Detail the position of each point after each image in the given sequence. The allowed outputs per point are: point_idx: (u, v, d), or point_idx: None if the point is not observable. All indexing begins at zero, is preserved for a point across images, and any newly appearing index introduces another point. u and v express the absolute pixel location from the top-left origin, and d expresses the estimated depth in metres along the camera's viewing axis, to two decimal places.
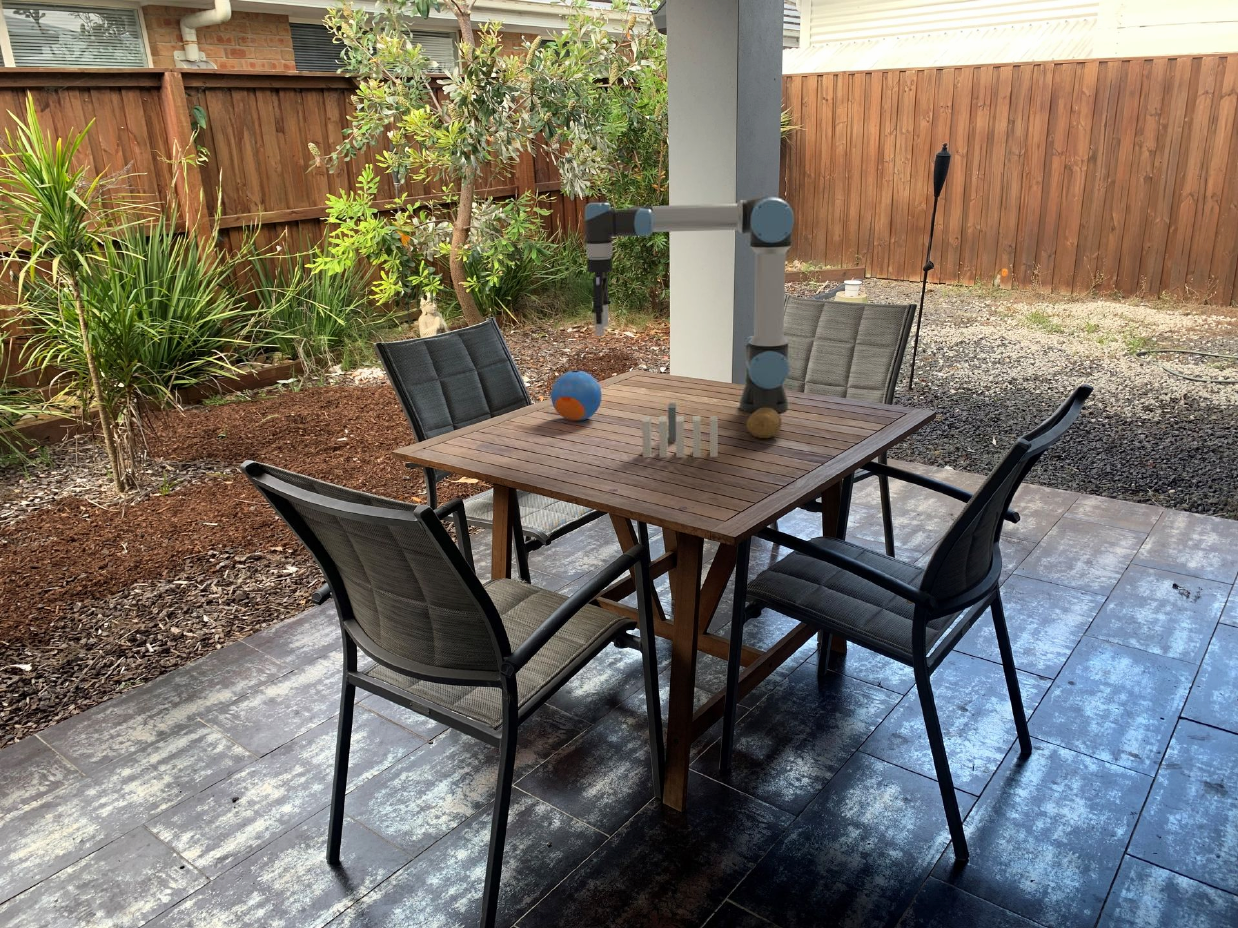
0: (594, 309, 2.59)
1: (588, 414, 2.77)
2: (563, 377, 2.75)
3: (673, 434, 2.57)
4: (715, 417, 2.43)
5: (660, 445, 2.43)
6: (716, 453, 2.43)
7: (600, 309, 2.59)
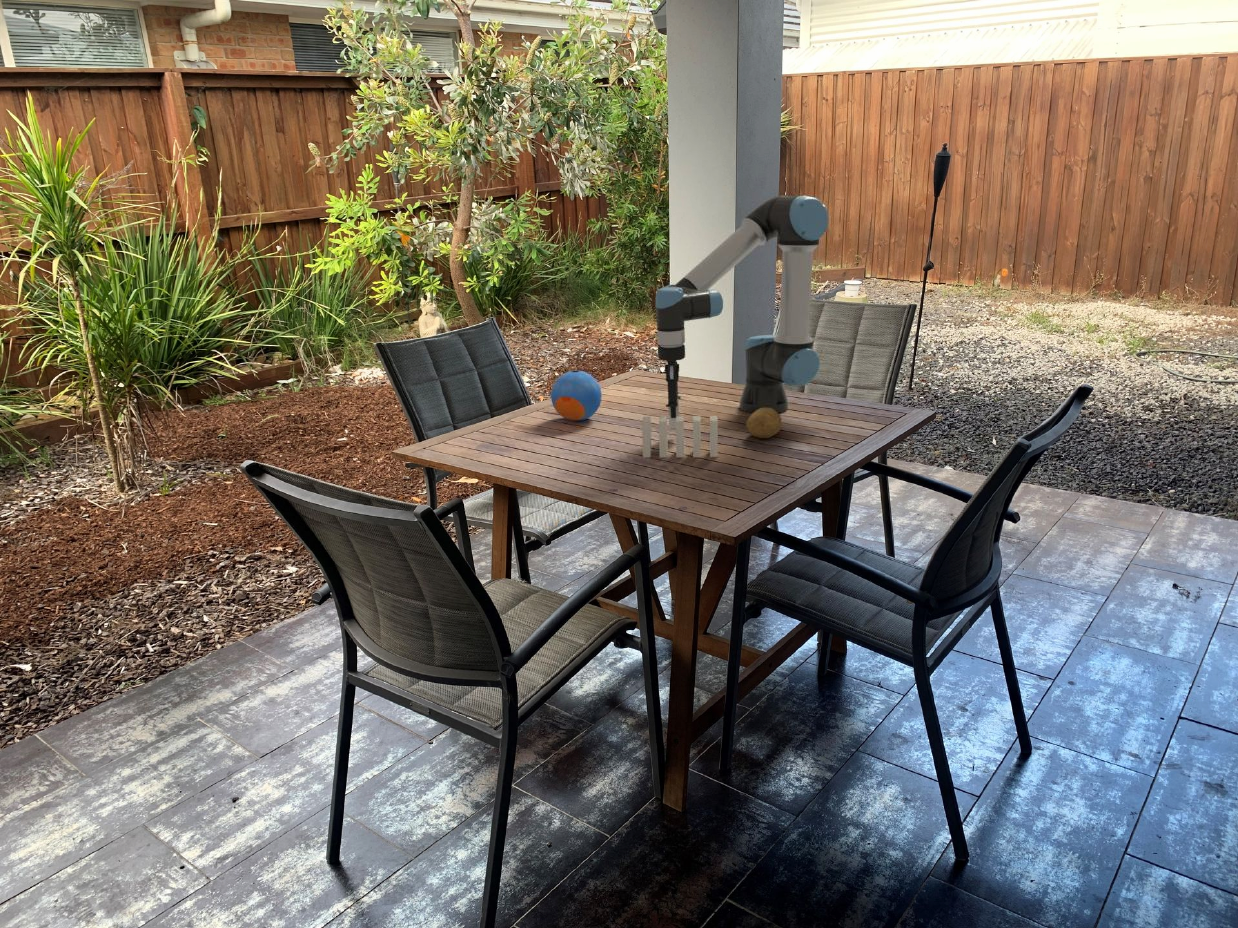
0: (669, 405, 2.51)
1: (588, 414, 2.77)
2: (563, 377, 2.75)
3: None
4: (715, 417, 2.43)
5: (660, 445, 2.43)
6: (716, 453, 2.43)
7: (675, 405, 2.50)
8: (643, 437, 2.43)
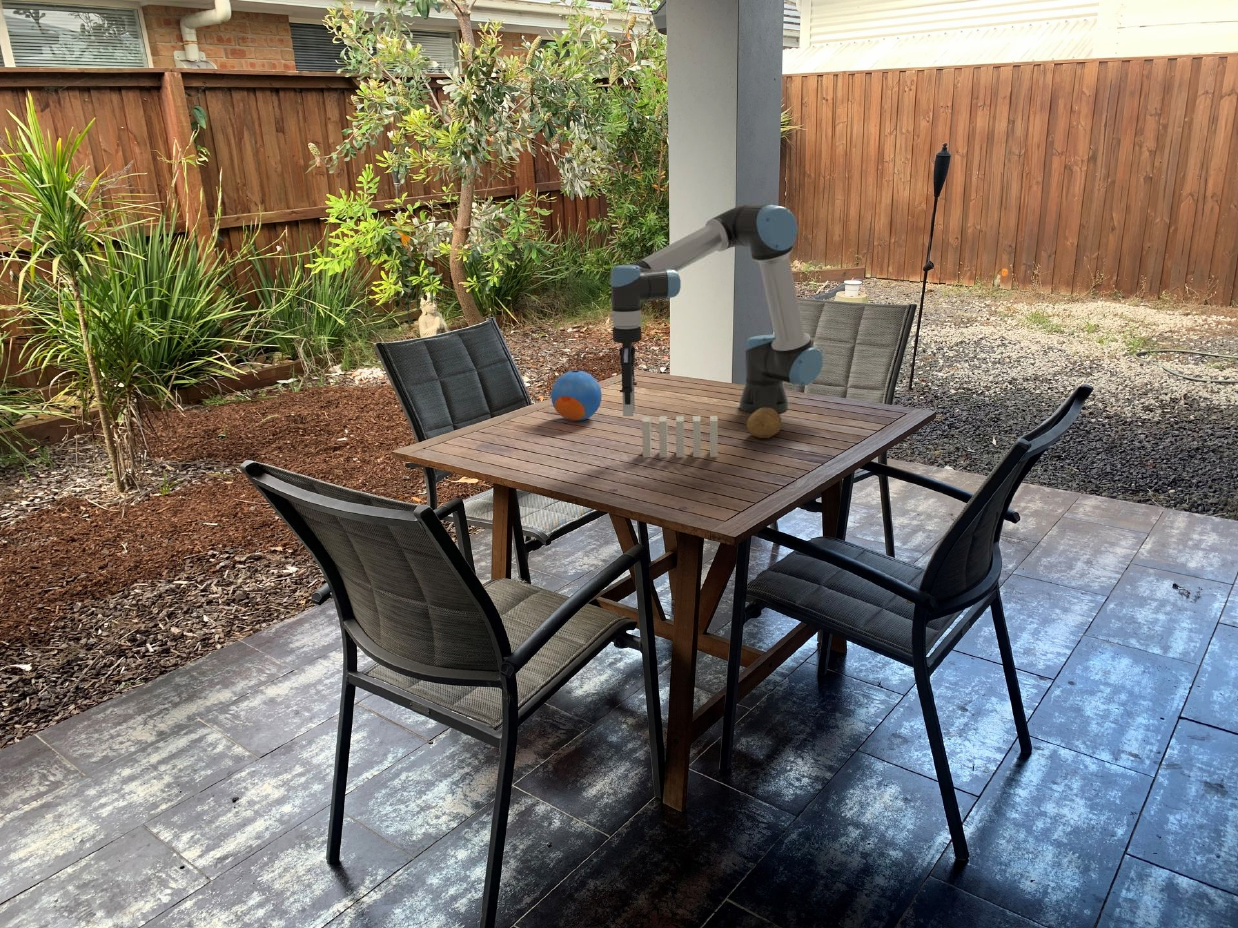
0: (623, 390, 2.36)
1: (588, 414, 2.77)
2: (563, 377, 2.75)
3: None
4: (715, 417, 2.43)
5: (660, 445, 2.43)
6: (716, 453, 2.43)
7: (629, 390, 2.36)
8: (643, 437, 2.43)
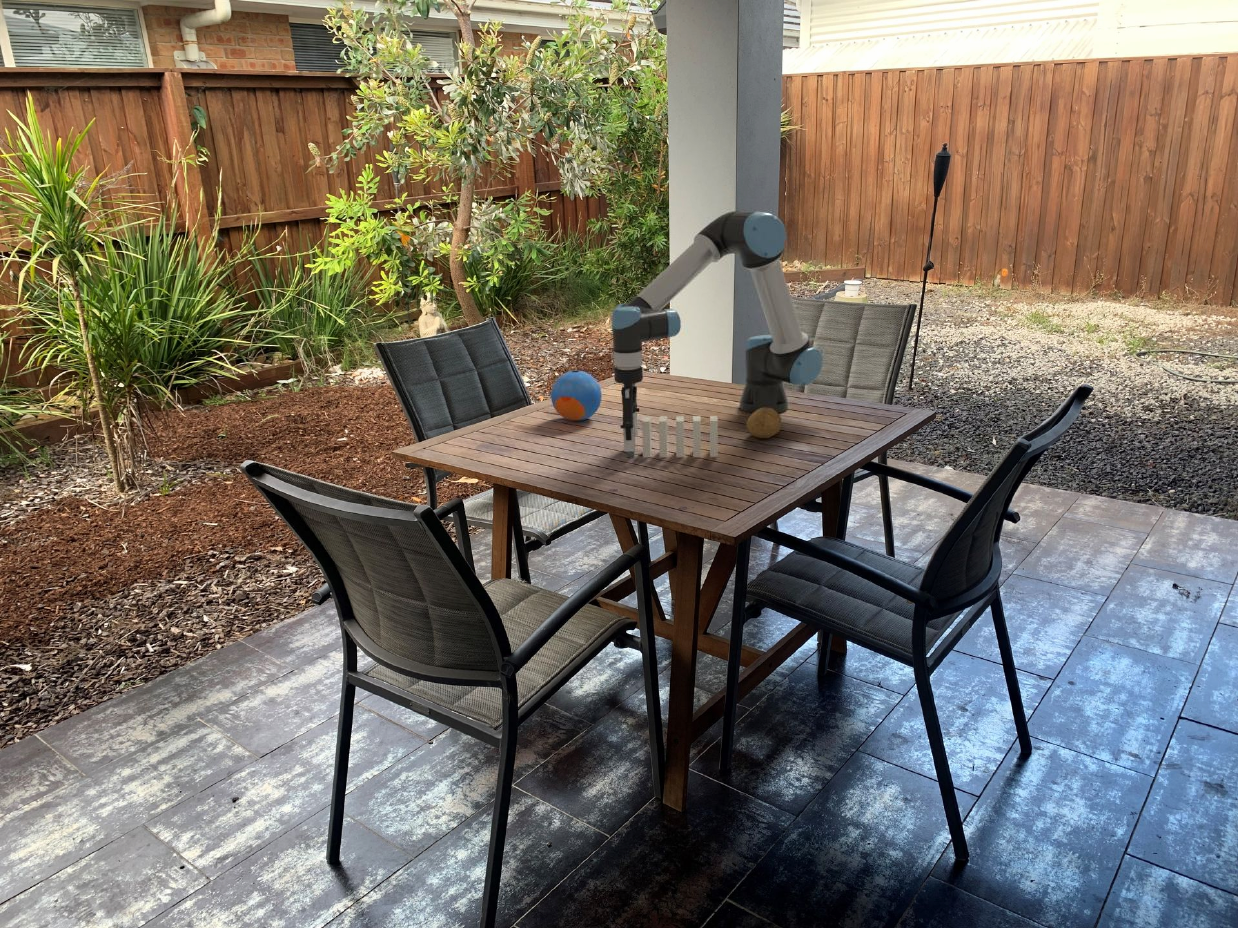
0: (623, 425, 2.35)
1: (588, 414, 2.77)
2: (563, 377, 2.75)
3: None
4: (715, 417, 2.43)
5: (660, 445, 2.43)
6: (716, 453, 2.43)
7: (630, 426, 2.35)
8: (643, 437, 2.43)
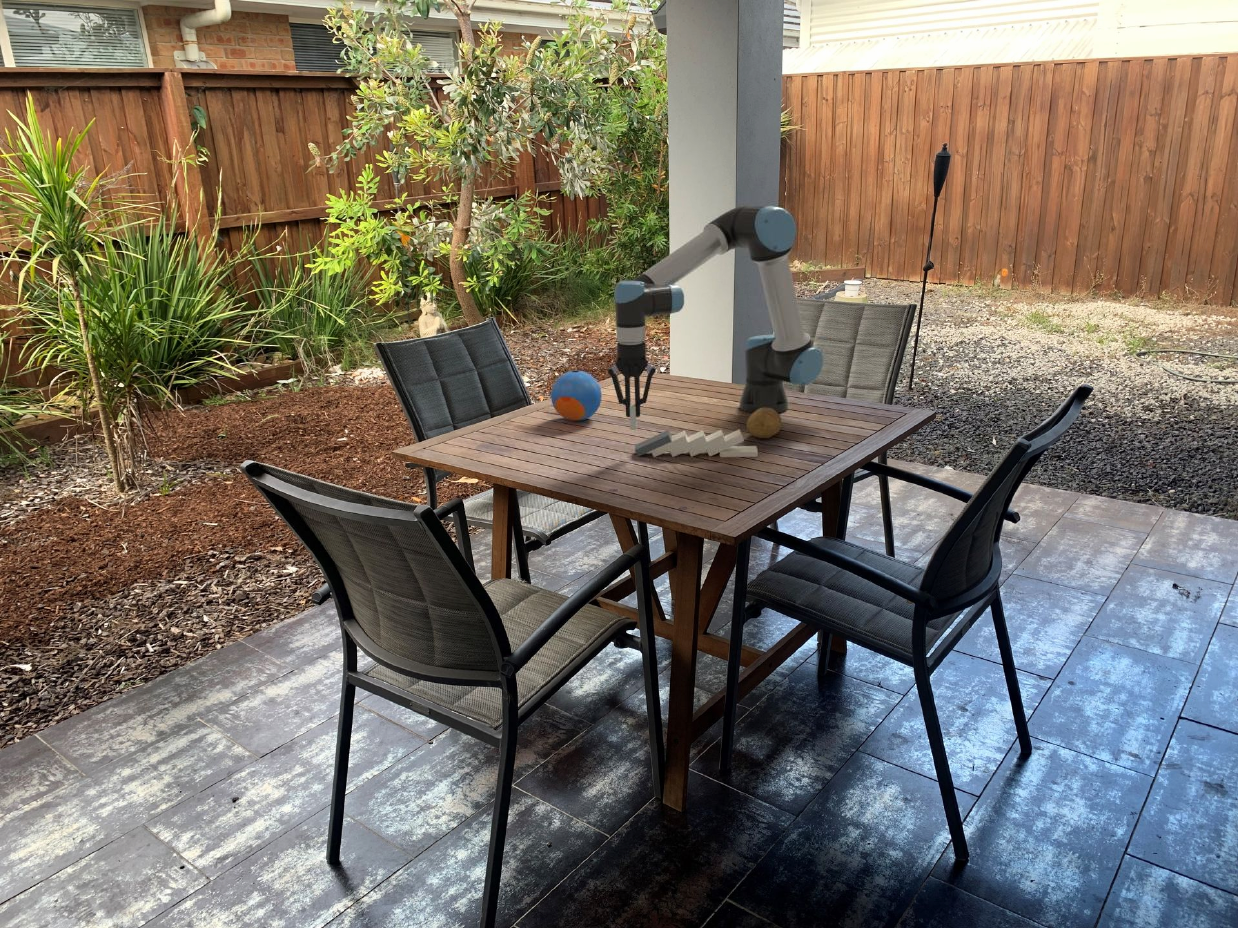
0: None
1: (588, 414, 2.77)
2: (563, 377, 2.75)
3: (643, 451, 2.44)
4: None
5: (681, 446, 2.43)
6: None
7: None
8: (670, 443, 2.43)
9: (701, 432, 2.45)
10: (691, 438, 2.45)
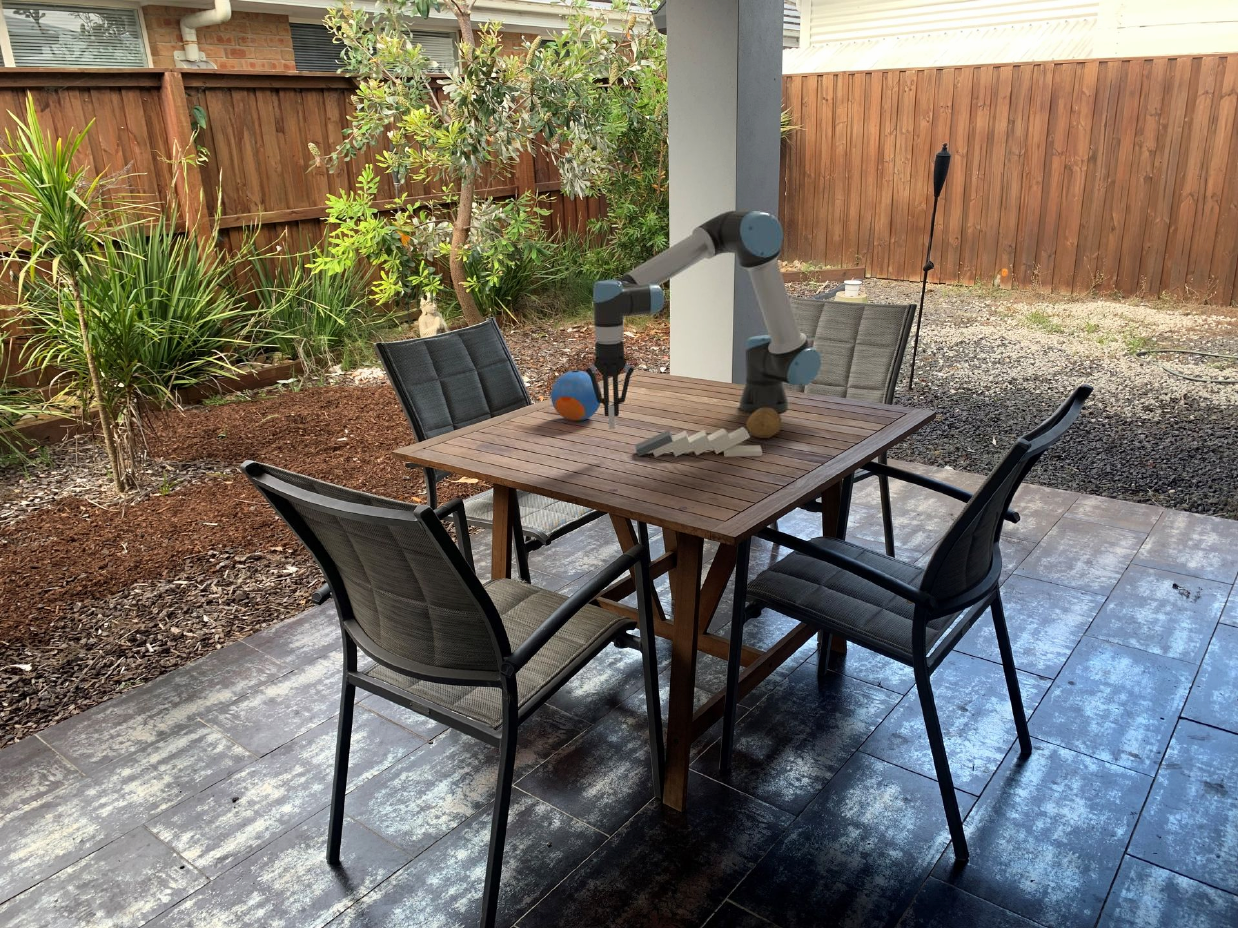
0: None
1: (588, 414, 2.77)
2: (563, 377, 2.75)
3: (645, 451, 2.44)
4: None
5: (684, 445, 2.43)
6: None
7: None
8: (671, 443, 2.43)
9: (703, 432, 2.46)
10: (693, 437, 2.45)
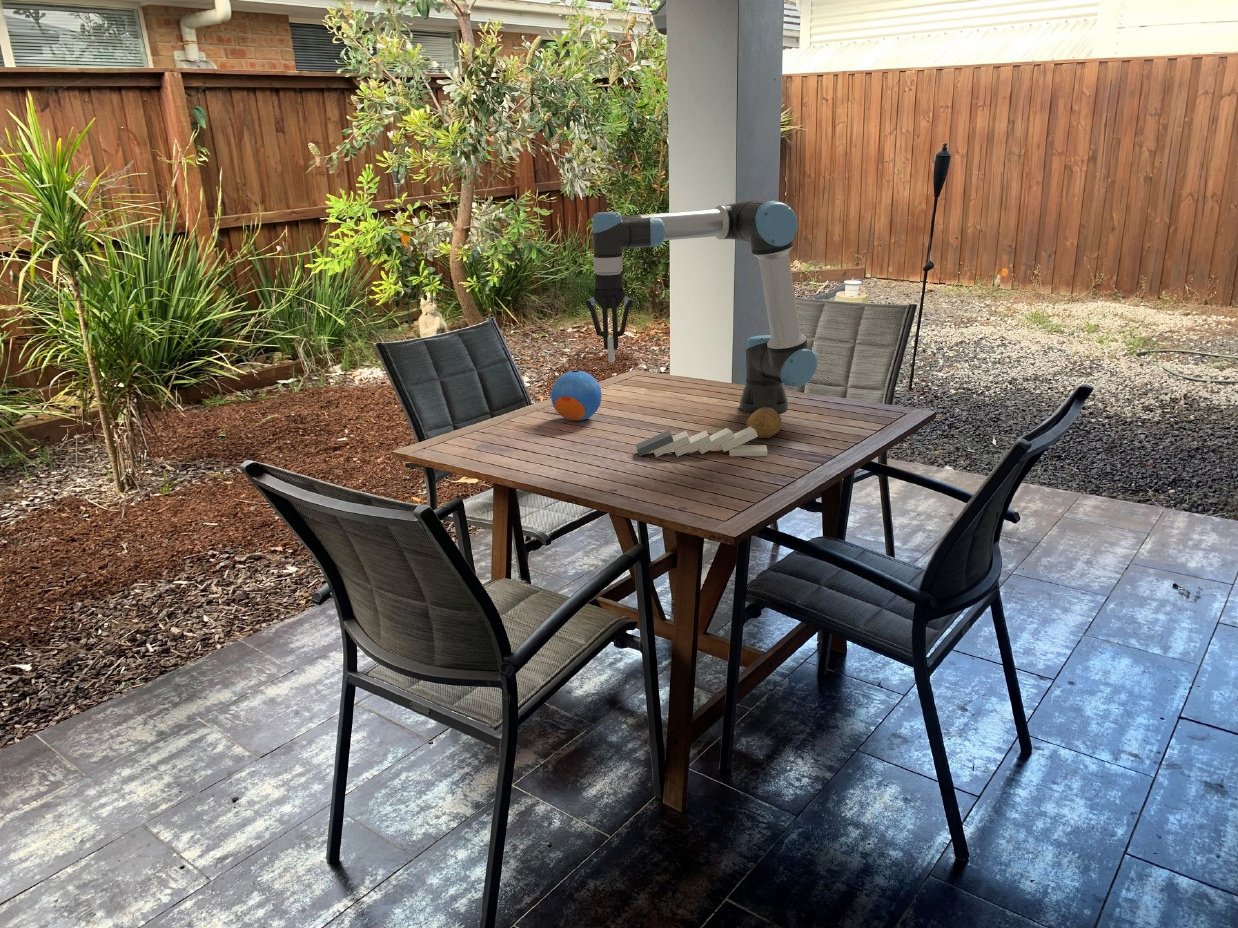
0: None
1: (588, 414, 2.77)
2: (563, 377, 2.75)
3: (645, 451, 2.44)
4: None
5: (686, 445, 2.44)
6: None
7: (597, 334, 2.44)
8: (672, 443, 2.44)
9: (704, 432, 2.46)
10: (695, 438, 2.45)
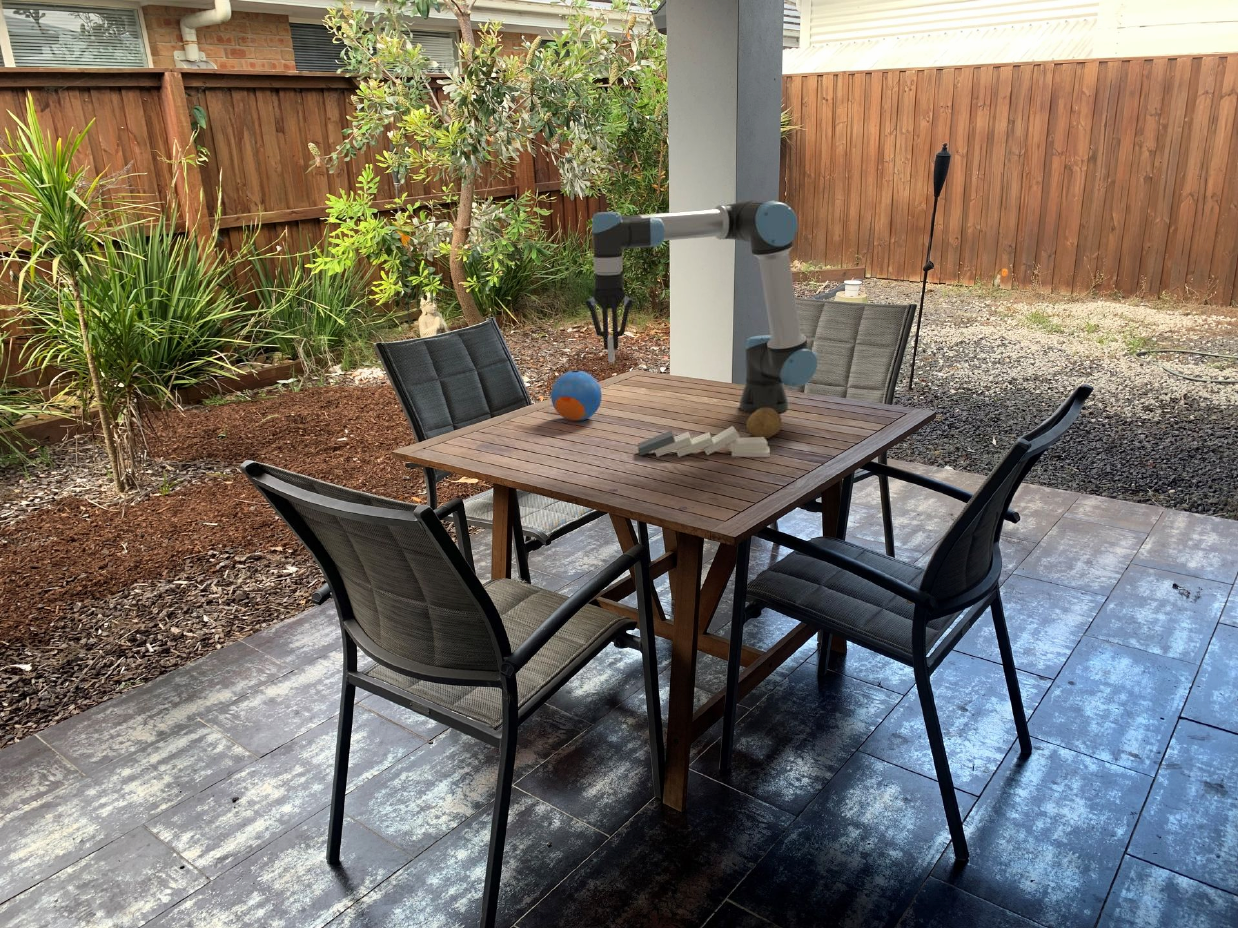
0: None
1: (588, 414, 2.77)
2: (563, 377, 2.75)
3: (647, 450, 2.44)
4: None
5: (688, 446, 2.43)
6: None
7: (597, 334, 2.44)
8: (674, 443, 2.44)
9: (708, 434, 2.46)
10: (698, 439, 2.45)
